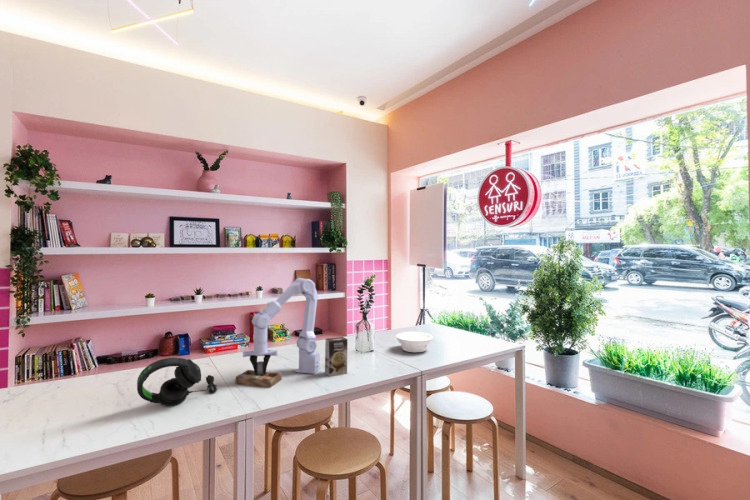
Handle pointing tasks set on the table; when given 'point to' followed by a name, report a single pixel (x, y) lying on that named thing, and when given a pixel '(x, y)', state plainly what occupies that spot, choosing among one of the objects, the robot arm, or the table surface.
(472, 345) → the table surface
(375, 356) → the table surface
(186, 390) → the headset
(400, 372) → the table surface
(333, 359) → the coffee box
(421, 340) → the bowl
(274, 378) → the socket block
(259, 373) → the peg
